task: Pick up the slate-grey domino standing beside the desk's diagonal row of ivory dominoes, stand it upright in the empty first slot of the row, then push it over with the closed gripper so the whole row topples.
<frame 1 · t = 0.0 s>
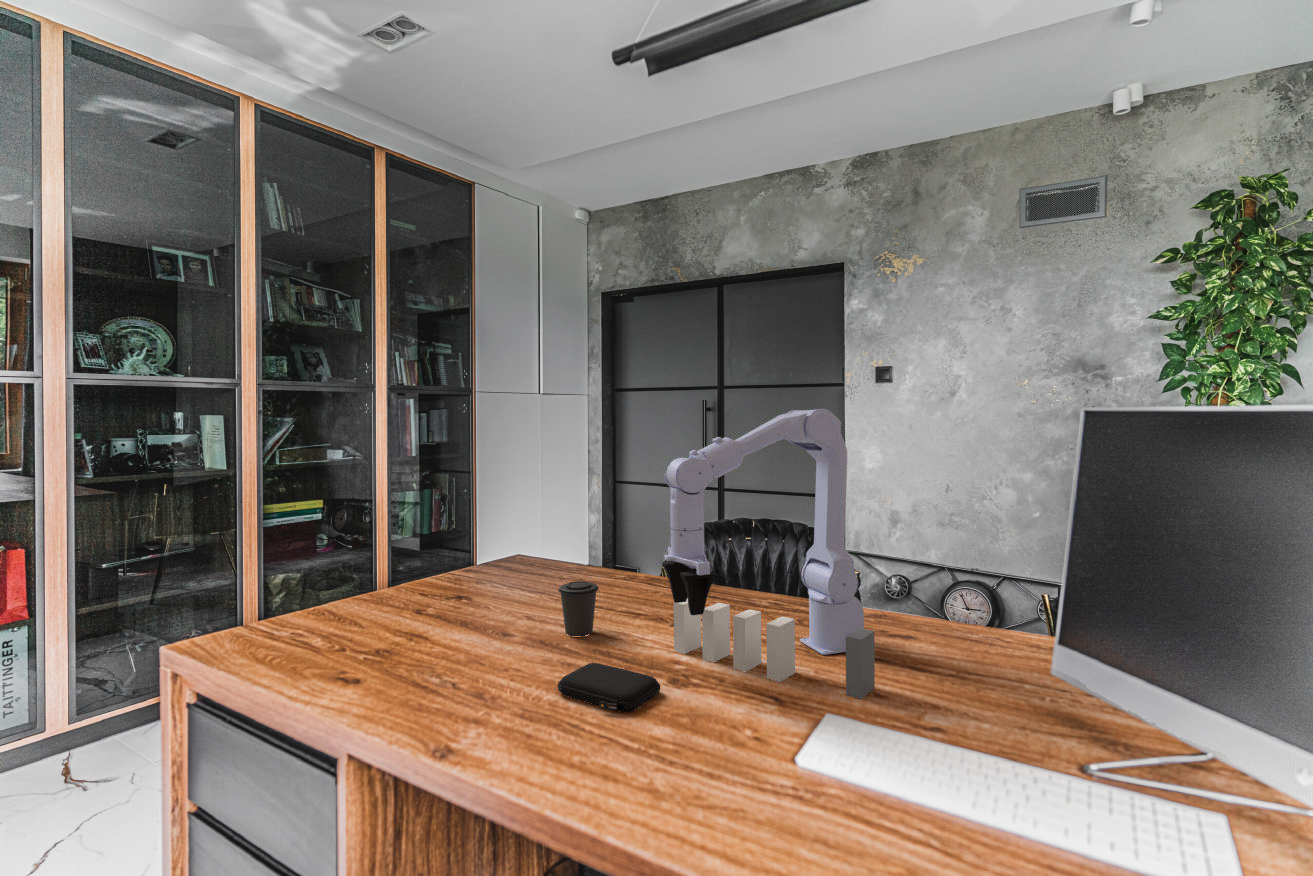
hand: (688, 608, 107), 10 cm above the table, tool pointing down, fingers open, 7 cm apart
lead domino: (860, 691, 96), on the table
carrying case or bag: (606, 698, 96), on the table
domino 3: (747, 666, 107), on the table
coffee cup: (579, 634, 125), on the table
domino 4: (716, 657, 111), on the table
domino 2: (781, 675, 103), on the table
domino 5: (687, 649, 116), on the table
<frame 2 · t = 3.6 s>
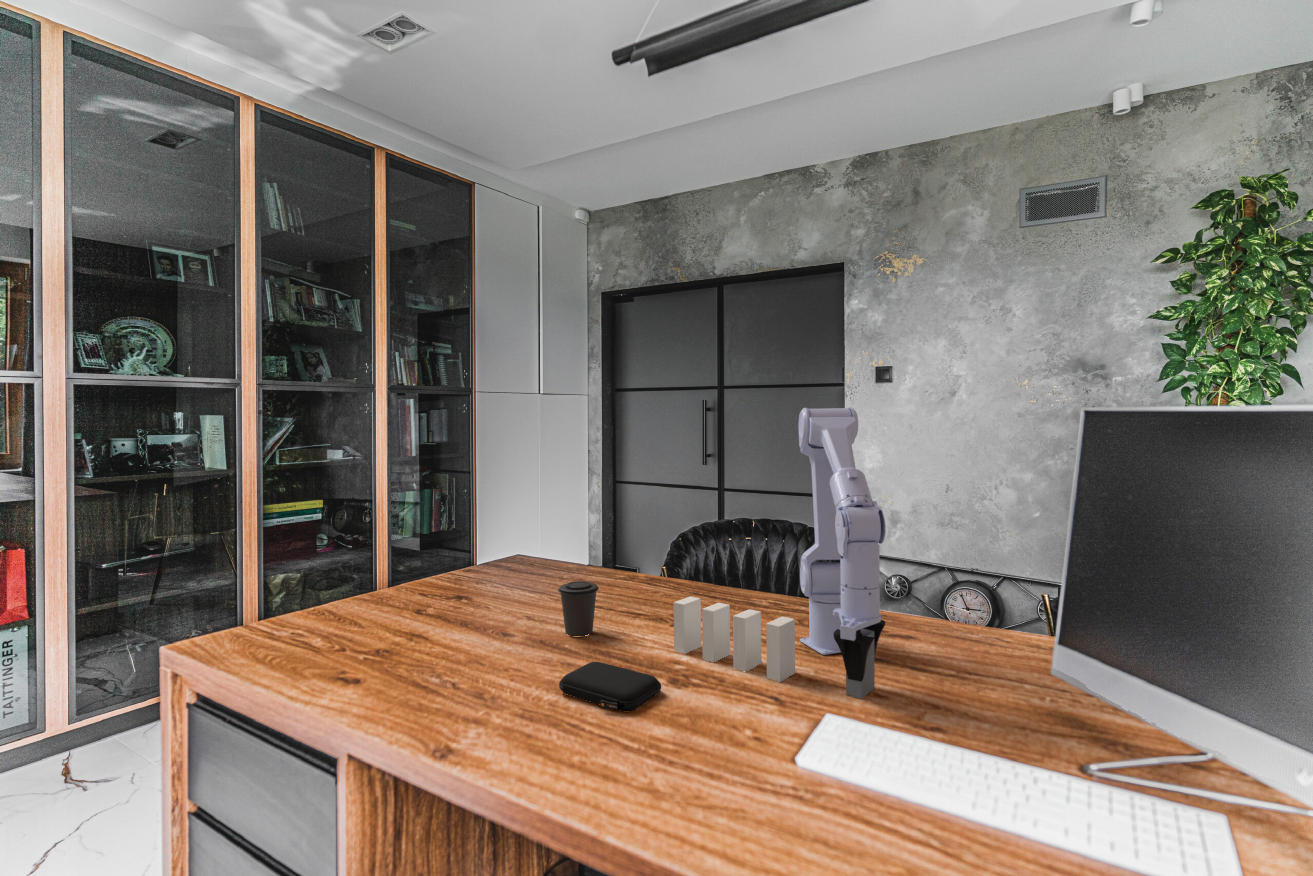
hand: (860, 672, 96), 3 cm above the table, tool pointing down, fingers closed on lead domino, 5 cm apart
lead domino: (860, 691, 96), on the table, touching gripper
everything else where it was.
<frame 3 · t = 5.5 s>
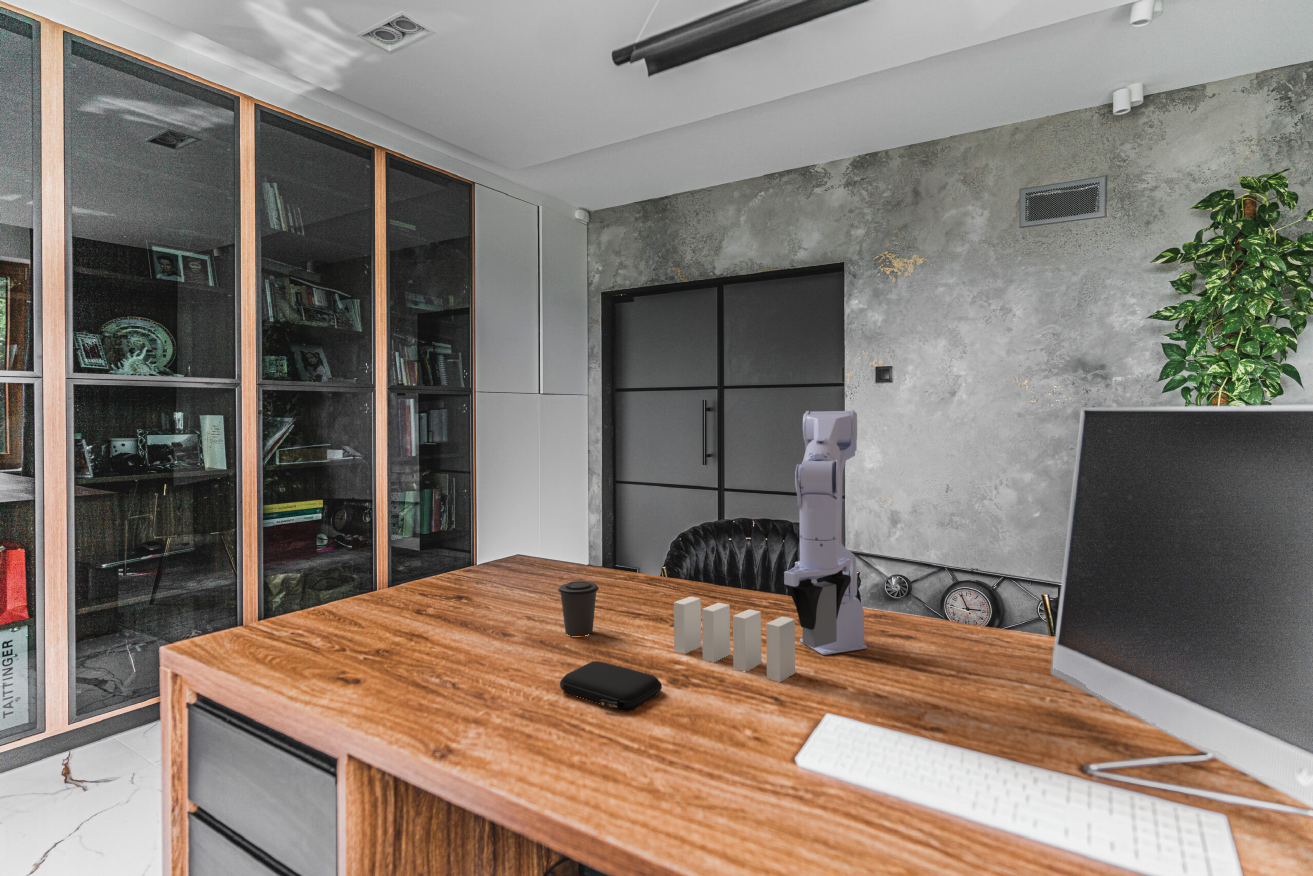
hand: (818, 623, 98), 10 cm above the table, tool pointing down, fingers closed on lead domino, 5 cm apart
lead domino: (819, 642, 98), point 7 cm above the table, touching gripper
everything else where it was.
when the fingers open (3 cm above the table, at t = 7.7 s): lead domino stays where it is, on the table.
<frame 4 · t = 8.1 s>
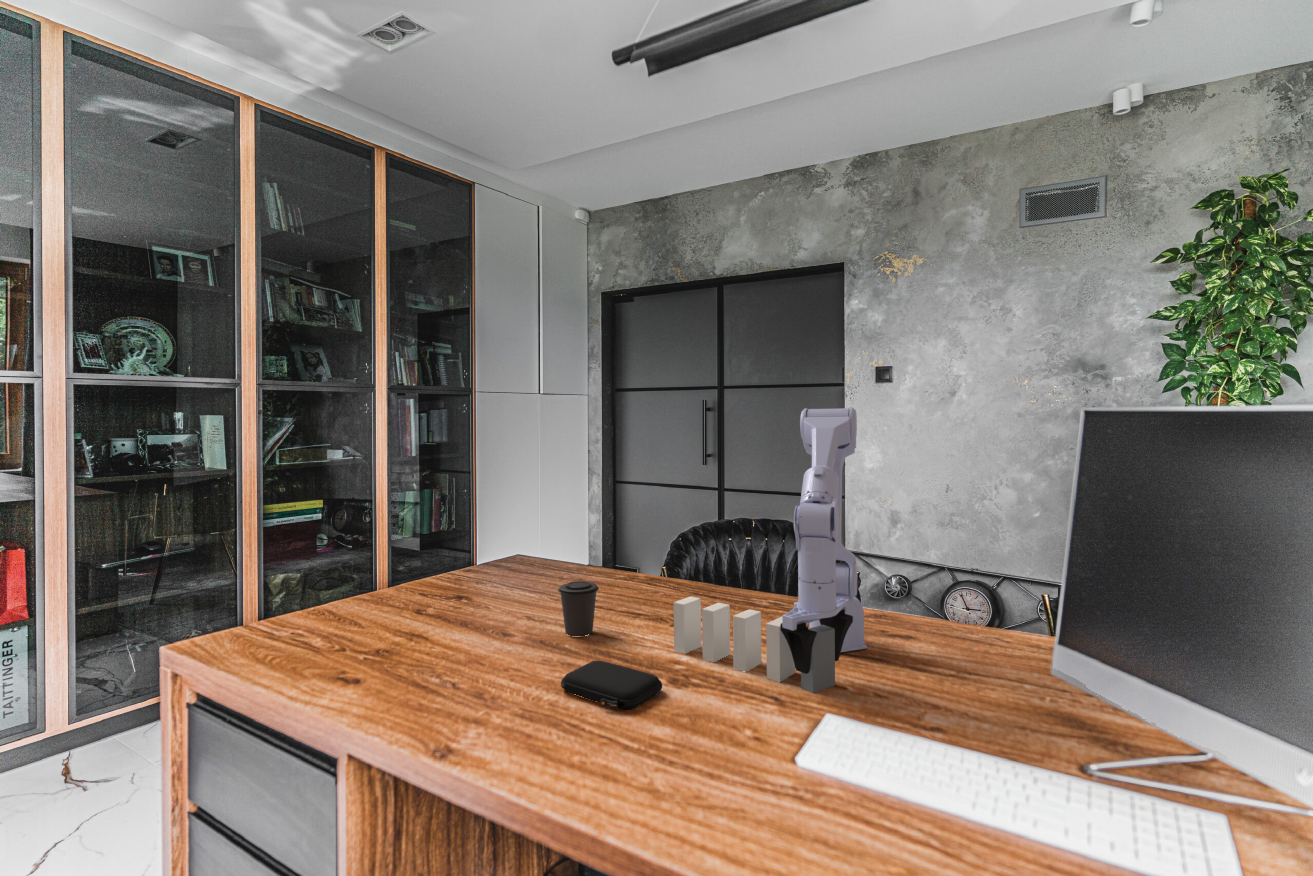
hand: (817, 665, 98), 3 cm above the table, tool pointing down, fingers open, 7 cm apart
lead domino: (818, 686, 98), on the table
everything else where it was.
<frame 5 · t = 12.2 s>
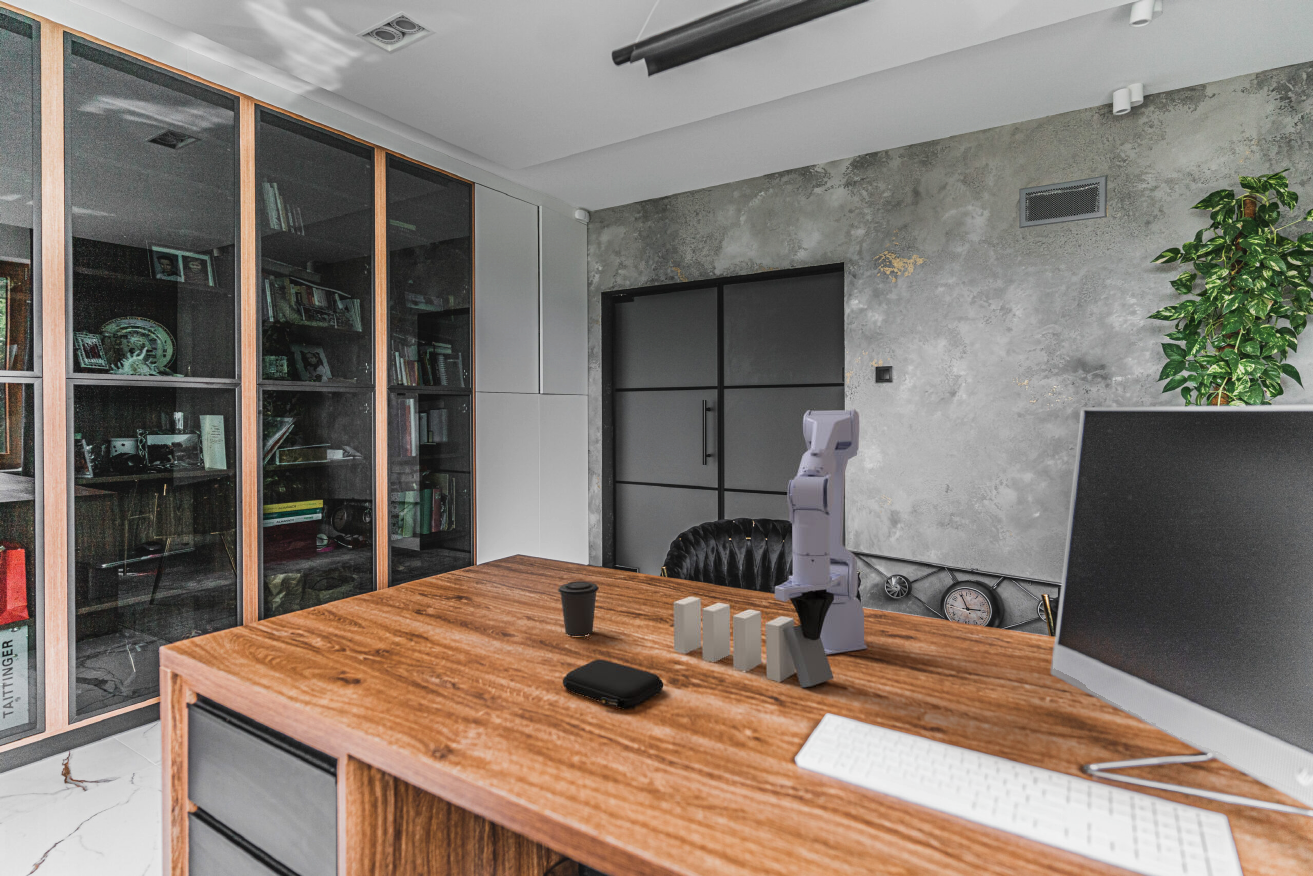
hand: (811, 638, 99), 7 cm above the table, tool pointing down, fingers closed
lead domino: (817, 683, 99), on the table, tilted 25°, touching domino 2, gripper
domino 2: (781, 675, 103), on the table, touching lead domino
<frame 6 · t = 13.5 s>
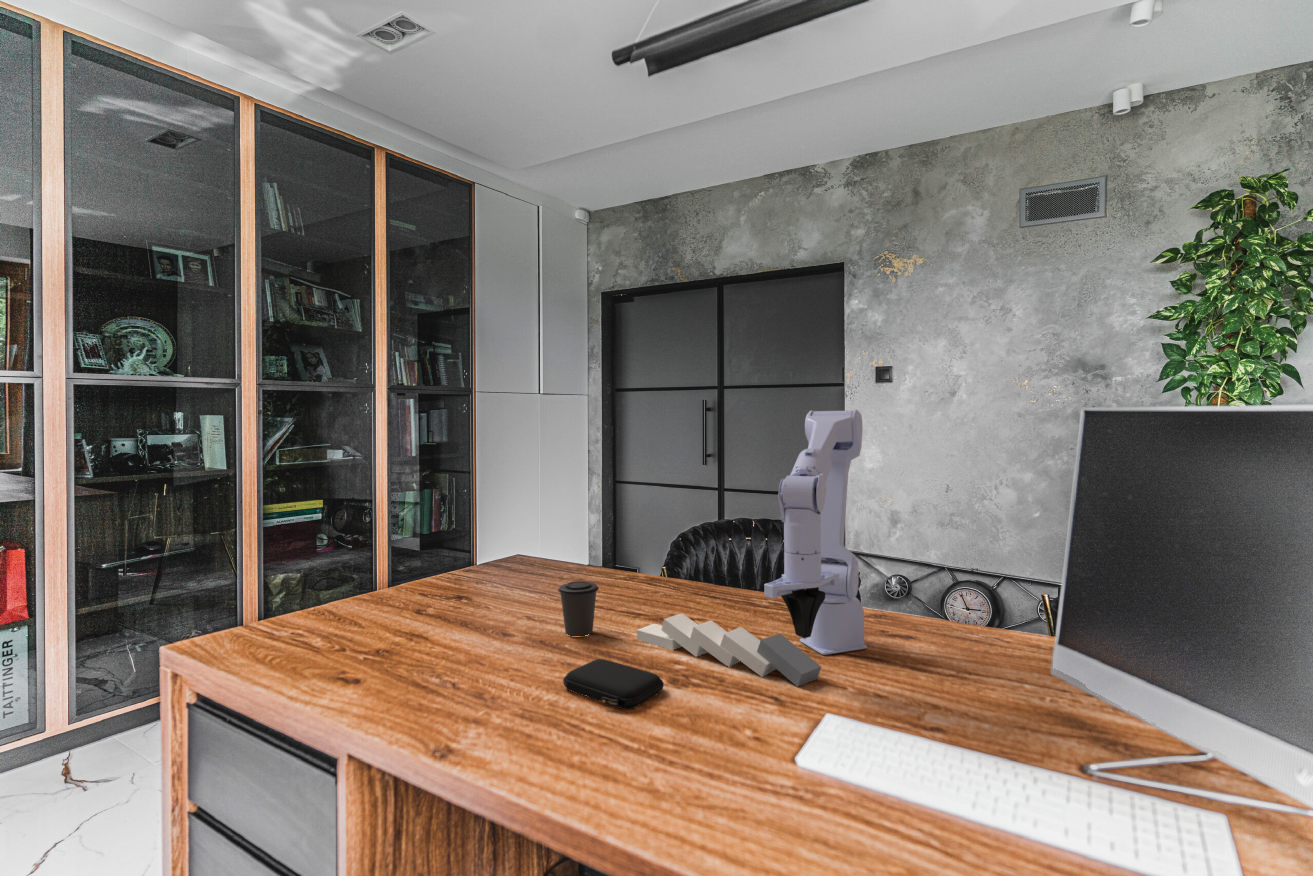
hand: (803, 635, 100), 7 cm above the table, tool pointing down, fingers closed
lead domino: (809, 676, 99), point 1 cm above the table, tilted 69°
domino 3: (739, 657, 108), point 1 cm above the table, tilted 70°, touching domino 2, domino 4
domino 4: (706, 647, 113), point 1 cm above the table, tilted 71°, touching domino 3
domino 2: (772, 666, 104), point 1 cm above the table, tilted 69°, touching domino 3
domino 5: (681, 642, 117), point 1 cm above the table, tilted 90°
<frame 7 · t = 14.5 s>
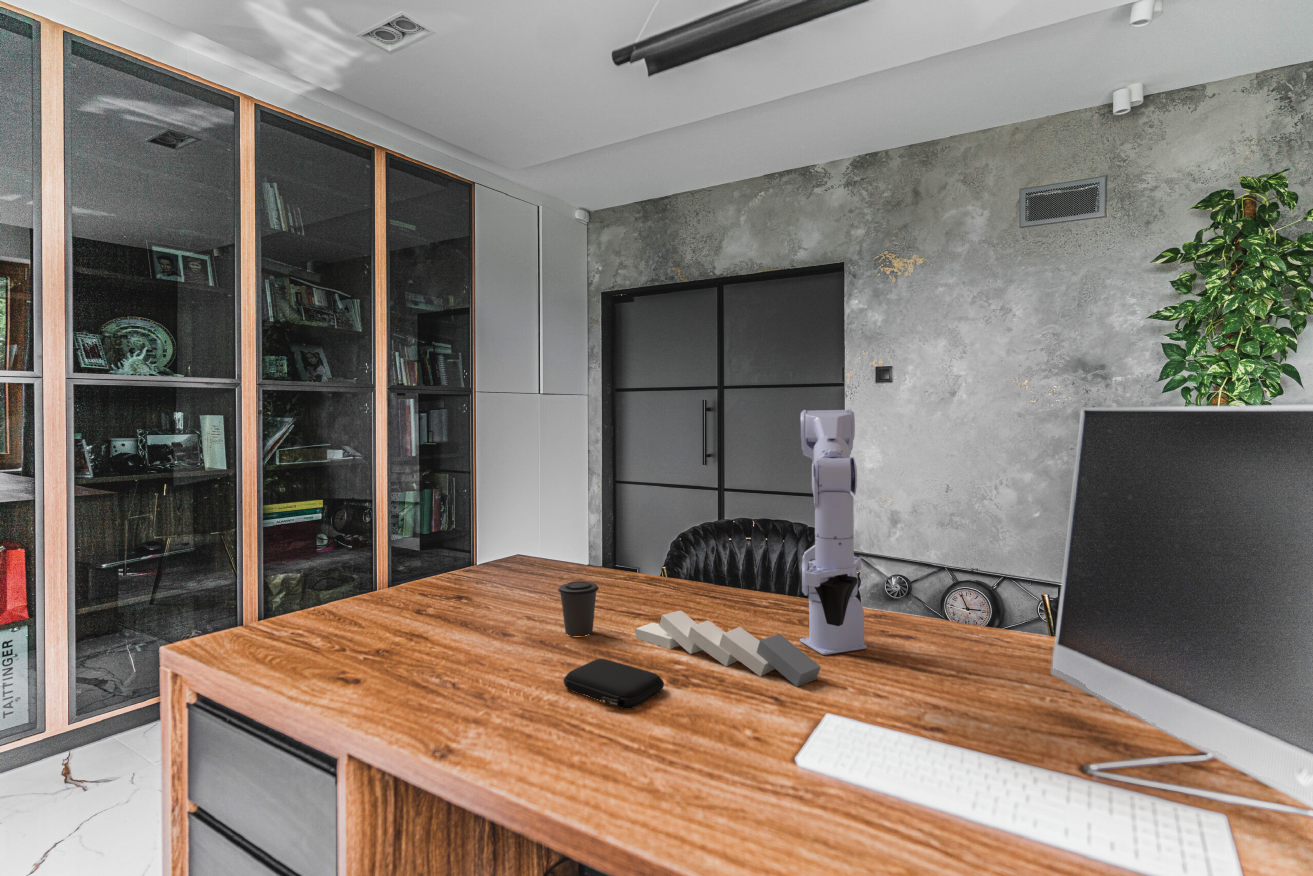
hand: (834, 624, 96), 10 cm above the table, tool pointing down, fingers closed
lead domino: (808, 676, 99), point 1 cm above the table, tilted 70°, touching domino 2
domino 3: (736, 656, 109), point 1 cm above the table, tilted 71°
domino 4: (701, 645, 114), point 1 cm above the table, tilted 70°, touching domino 5
domino 2: (770, 666, 104), point 1 cm above the table, tilted 69°, touching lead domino
domino 5: (678, 641, 117), point 1 cm above the table, tilted 90°, touching domino 4
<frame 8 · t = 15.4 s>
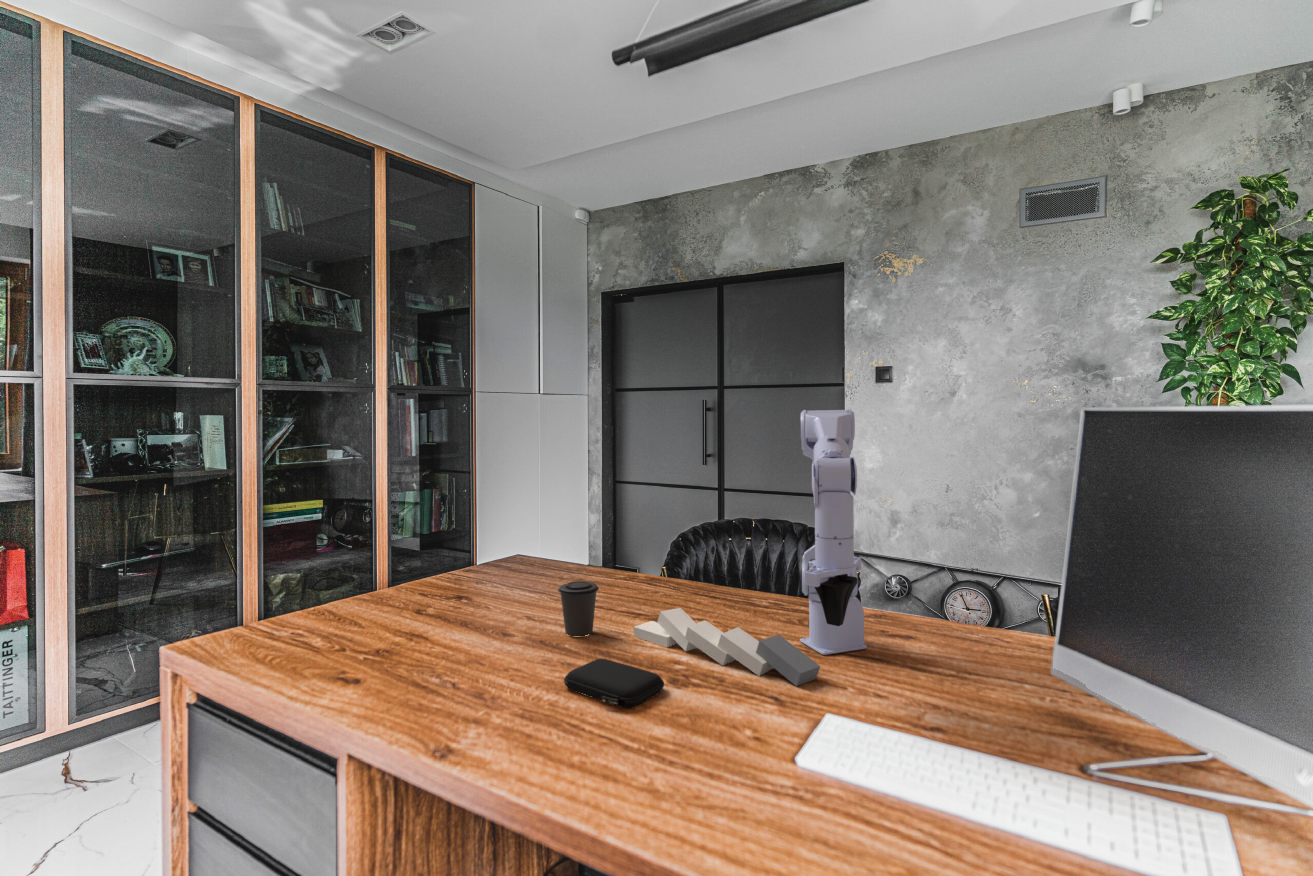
hand: (834, 624, 96), 10 cm above the table, tool pointing down, fingers closed
domino 3: (733, 655, 109), point 1 cm above the table, tilted 72°, touching domino 2, domino 4
domino 4: (697, 643, 115), point 1 cm above the table, tilted 69°, touching domino 3
domino 2: (769, 665, 104), point 1 cm above the table, tilted 70°, touching domino 3, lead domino
domino 5: (676, 640, 118), point 1 cm above the table, tilted 90°
at the end: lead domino inside the target area (1.4 cm from its centre), point 1.2 cm above the table; domino 3 tilted 72°; domino 5 tilted 90° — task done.
